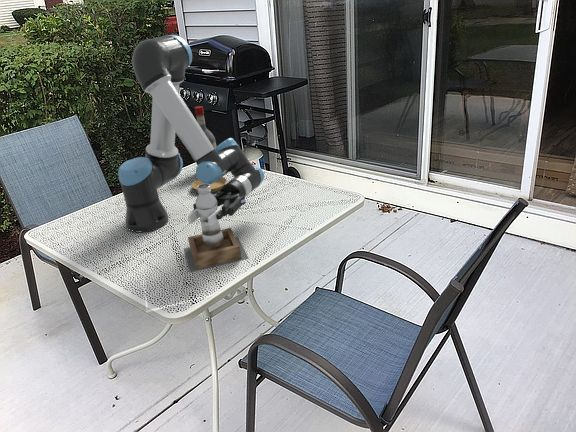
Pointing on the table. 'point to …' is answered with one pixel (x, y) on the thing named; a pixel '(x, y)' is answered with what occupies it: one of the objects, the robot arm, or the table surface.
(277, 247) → the table surface
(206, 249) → the wooden tray
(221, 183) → the plant saucer
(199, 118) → the liquor
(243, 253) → the mat
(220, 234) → the plastic bottle
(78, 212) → the table surface
